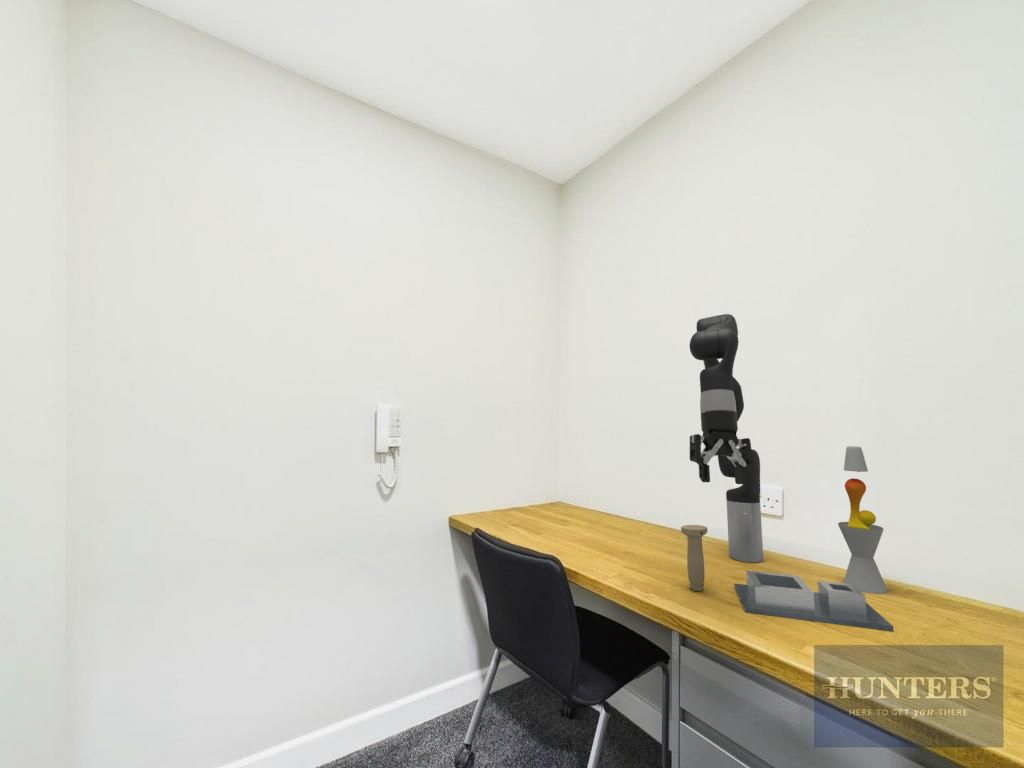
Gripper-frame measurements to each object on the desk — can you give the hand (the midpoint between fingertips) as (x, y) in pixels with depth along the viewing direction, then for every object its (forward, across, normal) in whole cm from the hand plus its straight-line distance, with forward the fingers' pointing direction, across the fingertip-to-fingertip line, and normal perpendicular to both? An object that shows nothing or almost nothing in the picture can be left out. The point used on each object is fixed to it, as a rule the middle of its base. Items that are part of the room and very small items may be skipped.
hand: (722, 483), depth 95 cm
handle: (+26, -3, -17) cm, 31 cm away
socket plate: (+26, -21, -3) cm, 33 cm away
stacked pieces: (+23, -46, -11) cm, 52 cm away
